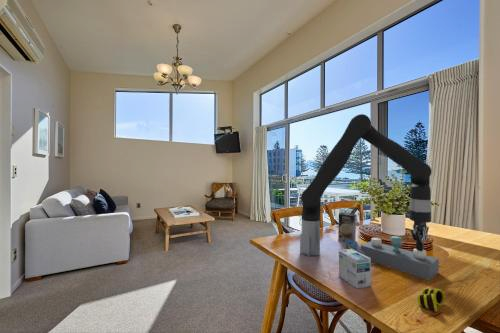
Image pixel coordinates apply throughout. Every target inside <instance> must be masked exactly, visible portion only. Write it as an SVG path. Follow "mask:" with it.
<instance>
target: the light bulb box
mask: <svg viewBox="0 0 500 333" xmlns="http://www.w3.org/2000/svg"><path fill="white" fill-rule="evenodd" d="M338 276H339V277H340V278H341V279H343V280H344V281H346V282H347V283H349V284H350V285H351V286H353V287H354V288H355V289H362V288H367V287H372V261H371V258H370V257H367V256H365V255H363V254H361V253H359V252H357V251H355V250H353V249H346V248H345V249H339V250H338Z"/></svg>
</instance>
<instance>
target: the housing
mask: <svg viewBox="0 0 500 333" xmlns="http://www.w3.org/2000/svg"><path fill="white" fill-rule="evenodd" d="M359 250H361V251H363V252H364V253H365V256H367V257H370V258H371V262H374V263H377V264H380V265H383V266H384V267H388V266H389V267H388V268H391V269H394V270H397V271H401V272H403V273H406V274H408V273H409V274H408V275H412V276H415V277H418V278H420V277H421V279H423V278H424V280H427V281H430V280H432V279H433V278H434V277H435V276H437V275H438V274H439V268H440V267H439V263H440V262H439V260H440V259H439V258H438V257H433V256H430V255H426V259H423V260H421V259H418V258H415V257H414V256H413V251H412V250H408V249H403V248H400V247H399V253H396V252H394V245H389V244H384V243H382V246H381V247H375V246H372V245H371V240H370V241H368V242H365V243H362V244H360V249H359Z"/></svg>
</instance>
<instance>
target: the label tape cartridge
mask: <svg viewBox="0 0 500 333" xmlns="http://www.w3.org/2000/svg"><path fill="white" fill-rule="evenodd" d="M349 242H350V243H349ZM345 249H353V250H355V251H357V252H359V253H361V254H363V255H365V253H364V252H363V251H361V250H360V249H359V248H358V243H356V241H355V242H353V241H351V240H349V239H348V238H346V242H345Z"/></svg>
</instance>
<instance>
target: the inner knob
mask: <svg viewBox="0 0 500 333" xmlns="http://www.w3.org/2000/svg"><path fill="white" fill-rule="evenodd" d="M370 241H371V245H372V246H375V247H381V246H382V244H383V243H382V238H379V237H371V240H370Z"/></svg>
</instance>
